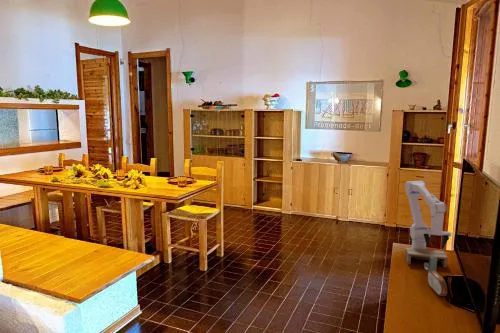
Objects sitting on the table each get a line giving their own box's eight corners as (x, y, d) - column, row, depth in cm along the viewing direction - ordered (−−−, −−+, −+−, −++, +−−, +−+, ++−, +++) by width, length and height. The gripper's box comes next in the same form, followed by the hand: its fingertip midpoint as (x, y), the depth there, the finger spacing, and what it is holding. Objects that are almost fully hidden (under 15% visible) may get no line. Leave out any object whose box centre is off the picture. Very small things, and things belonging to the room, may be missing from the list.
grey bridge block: (405, 257, 216) (405, 247, 214) (442, 260, 211) (443, 250, 210) (407, 264, 207) (408, 253, 206) (446, 267, 202) (447, 257, 201)
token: (423, 267, 204) (423, 265, 204) (431, 268, 203) (431, 266, 203) (424, 270, 200) (424, 268, 200) (432, 271, 199) (432, 269, 199)
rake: (423, 266, 203) (425, 249, 201) (431, 267, 202) (433, 250, 200) (428, 276, 193) (429, 258, 191) (436, 277, 192) (438, 259, 190)
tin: (447, 299, 171) (448, 282, 169) (440, 299, 171) (441, 282, 169) (432, 283, 186) (433, 267, 184) (425, 283, 186) (427, 267, 184)
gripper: (423, 225, 199) (422, 249, 201) (453, 227, 196) (451, 251, 198) (421, 221, 206) (419, 244, 208) (449, 223, 202) (447, 246, 205)
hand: (434, 247), depth 203 cm, fingers open, 7 cm apart
